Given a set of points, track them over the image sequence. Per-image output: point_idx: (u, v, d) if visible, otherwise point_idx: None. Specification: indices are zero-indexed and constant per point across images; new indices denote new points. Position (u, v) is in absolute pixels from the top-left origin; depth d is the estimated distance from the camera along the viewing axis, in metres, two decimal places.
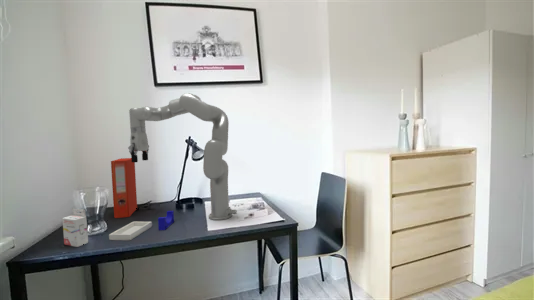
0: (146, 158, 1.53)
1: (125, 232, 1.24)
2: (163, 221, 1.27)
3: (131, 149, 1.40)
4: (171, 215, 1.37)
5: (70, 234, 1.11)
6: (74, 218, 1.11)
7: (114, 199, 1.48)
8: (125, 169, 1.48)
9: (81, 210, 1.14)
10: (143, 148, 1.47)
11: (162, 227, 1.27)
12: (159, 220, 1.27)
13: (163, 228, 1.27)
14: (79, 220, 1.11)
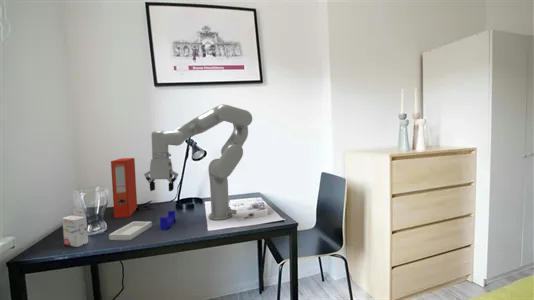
0: (154, 187, 1.33)
1: (125, 232, 1.24)
2: (165, 221, 1.27)
3: None
4: (173, 215, 1.37)
5: (70, 234, 1.11)
6: (74, 218, 1.11)
7: (114, 199, 1.48)
8: (125, 169, 1.48)
9: (81, 210, 1.14)
10: None
11: (164, 227, 1.27)
12: (161, 220, 1.27)
13: (165, 228, 1.27)
14: (79, 220, 1.11)
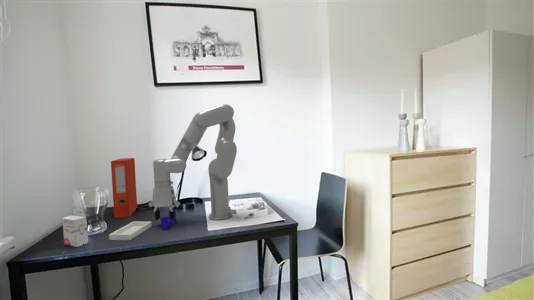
0: (159, 216, 1.34)
1: (125, 232, 1.24)
2: (166, 220, 1.27)
3: None
4: None
5: (70, 234, 1.11)
6: (74, 218, 1.11)
7: (114, 199, 1.48)
8: (125, 169, 1.48)
9: (81, 210, 1.14)
10: None
11: (164, 226, 1.27)
12: (162, 219, 1.27)
13: (166, 227, 1.27)
14: (79, 220, 1.11)
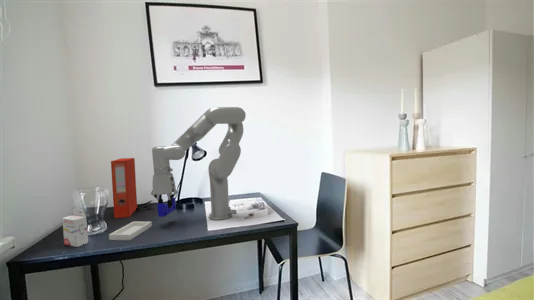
0: None
1: (125, 232, 1.24)
2: (162, 207, 1.27)
3: (175, 193, 1.32)
4: (172, 202, 1.37)
5: (70, 234, 1.11)
6: (74, 218, 1.11)
7: (114, 199, 1.48)
8: (125, 169, 1.48)
9: (81, 210, 1.14)
10: None
11: (161, 213, 1.27)
12: (158, 206, 1.27)
13: (162, 214, 1.27)
14: (79, 220, 1.11)
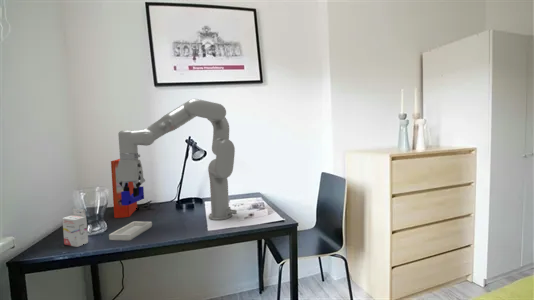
0: None
1: (125, 232, 1.24)
2: (126, 195, 1.18)
3: (142, 181, 1.23)
4: (140, 191, 1.28)
5: (70, 234, 1.11)
6: (74, 218, 1.11)
7: (114, 199, 1.48)
8: None
9: (81, 210, 1.14)
10: None
11: (125, 202, 1.18)
12: (122, 194, 1.18)
13: (126, 203, 1.18)
14: (79, 220, 1.11)
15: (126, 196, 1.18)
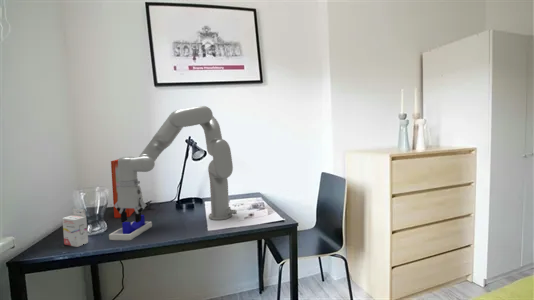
0: (126, 218, 1.26)
1: None
2: (127, 226, 1.19)
3: None
4: (141, 219, 1.29)
5: (70, 234, 1.11)
6: (74, 218, 1.11)
7: (114, 199, 1.48)
8: None
9: (81, 210, 1.14)
10: None
11: (126, 232, 1.19)
12: (123, 225, 1.19)
13: None
14: (79, 220, 1.11)
15: (127, 227, 1.19)
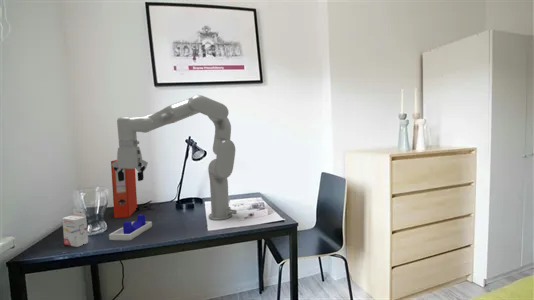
0: (123, 178, 1.25)
1: None
2: (128, 226, 1.19)
3: None
4: (141, 219, 1.29)
5: (70, 234, 1.11)
6: (74, 218, 1.11)
7: (114, 199, 1.48)
8: (125, 169, 1.48)
9: (81, 210, 1.14)
10: None
11: (127, 232, 1.19)
12: (124, 225, 1.19)
13: None
14: (79, 220, 1.11)
15: (128, 227, 1.19)
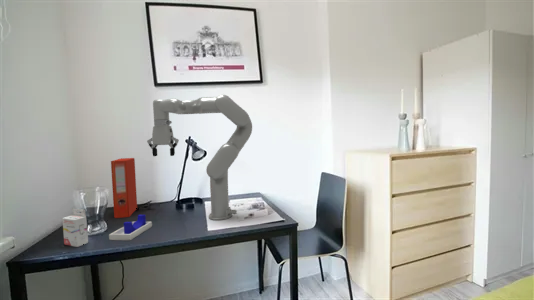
0: (156, 153, 1.43)
1: None
2: (129, 226, 1.19)
3: None
4: (142, 219, 1.29)
5: (70, 234, 1.11)
6: (74, 218, 1.11)
7: (114, 199, 1.48)
8: (125, 169, 1.48)
9: (81, 210, 1.14)
10: None
11: (127, 232, 1.19)
12: (125, 225, 1.19)
13: None
14: (79, 220, 1.11)
15: (129, 227, 1.19)
